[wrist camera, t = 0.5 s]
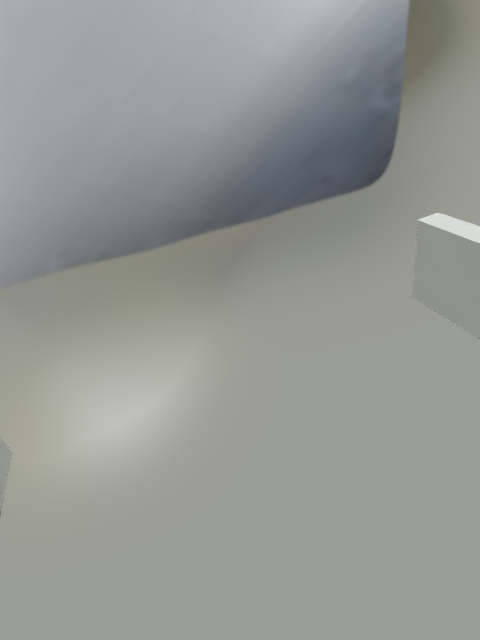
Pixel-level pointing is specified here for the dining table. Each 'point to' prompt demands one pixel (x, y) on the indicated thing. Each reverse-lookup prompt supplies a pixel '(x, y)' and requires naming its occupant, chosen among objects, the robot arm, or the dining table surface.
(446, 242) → the robot arm
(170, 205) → the dining table surface
